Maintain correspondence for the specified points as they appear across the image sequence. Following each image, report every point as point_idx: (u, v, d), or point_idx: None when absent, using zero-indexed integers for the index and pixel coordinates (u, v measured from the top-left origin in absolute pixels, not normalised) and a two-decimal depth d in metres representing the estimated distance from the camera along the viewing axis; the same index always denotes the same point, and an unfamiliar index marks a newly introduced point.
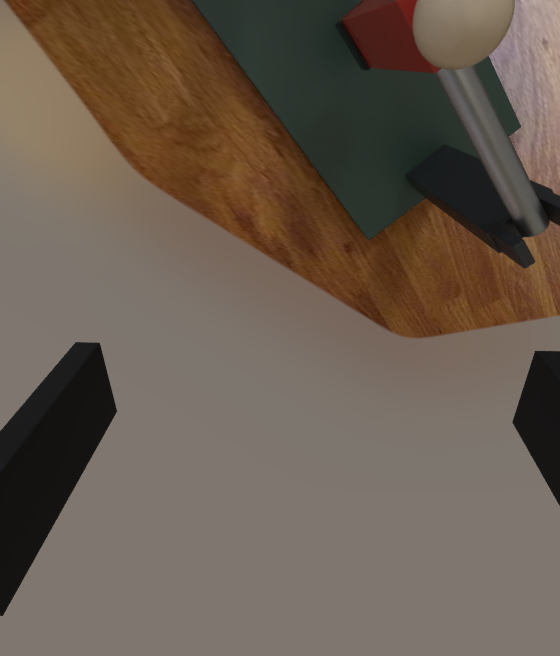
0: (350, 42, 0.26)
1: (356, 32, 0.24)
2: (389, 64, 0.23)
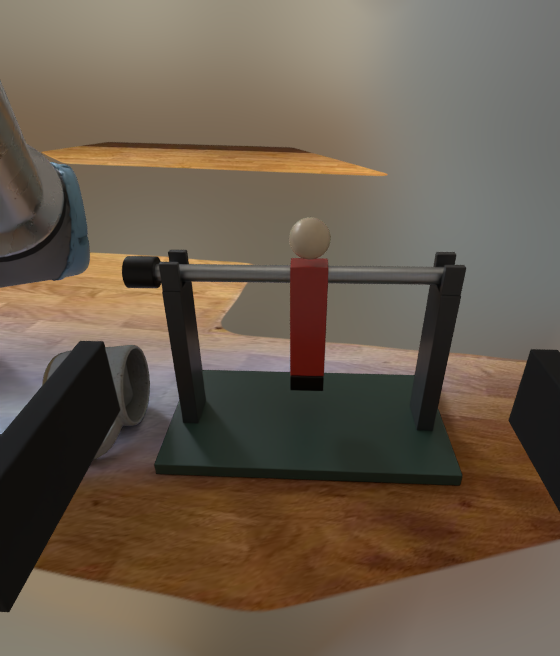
0: (303, 378, 0.40)
1: (299, 359, 0.40)
2: (321, 332, 0.38)
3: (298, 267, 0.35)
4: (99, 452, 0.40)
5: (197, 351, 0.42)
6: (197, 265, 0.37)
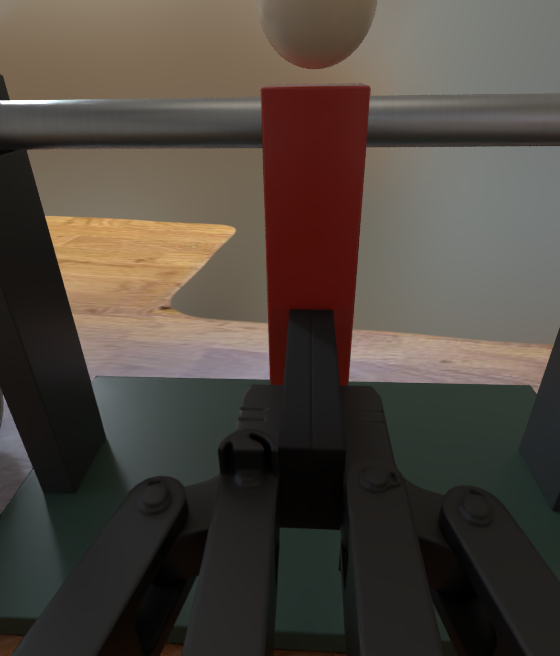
0: None
1: None
2: (345, 283, 0.15)
3: (284, 88, 0.12)
4: None
5: (66, 337, 0.19)
6: (15, 101, 0.14)
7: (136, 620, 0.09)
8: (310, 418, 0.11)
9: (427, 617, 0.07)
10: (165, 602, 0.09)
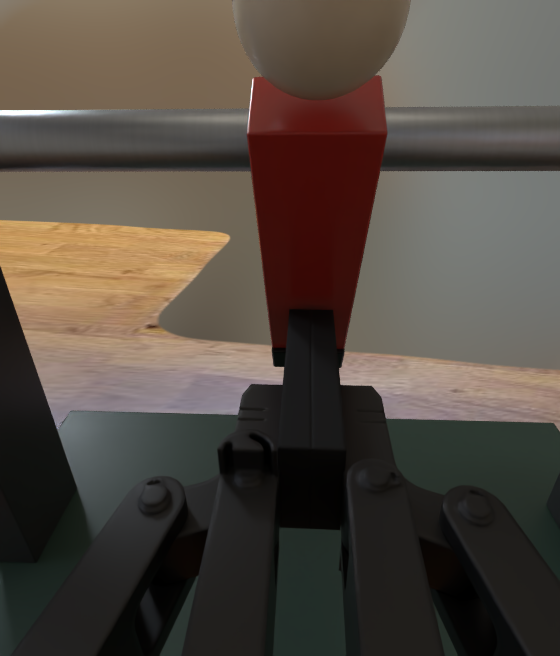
0: None
1: None
2: (346, 287, 0.15)
3: (276, 132, 0.10)
4: None
5: (24, 385, 0.16)
6: None
7: (136, 620, 0.09)
8: (310, 418, 0.11)
9: (427, 617, 0.07)
10: (165, 602, 0.09)
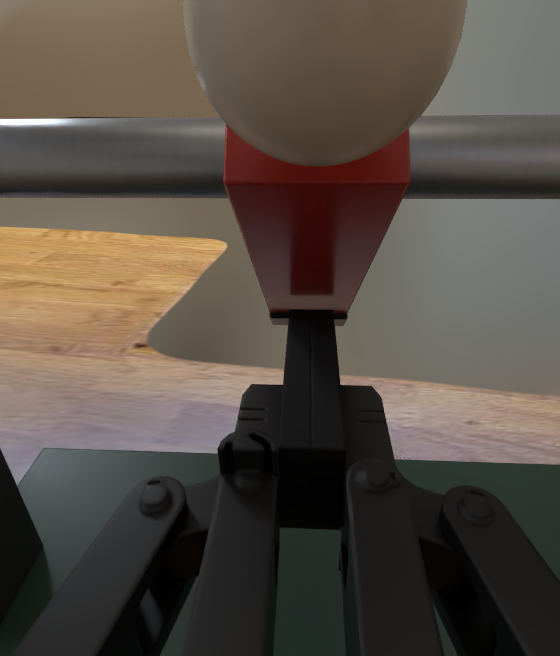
0: None
1: (288, 303, 0.16)
2: (351, 282, 0.13)
3: (262, 179, 0.07)
4: None
5: None
6: None
7: (136, 620, 0.09)
8: (310, 418, 0.11)
9: (427, 617, 0.07)
10: (165, 602, 0.09)
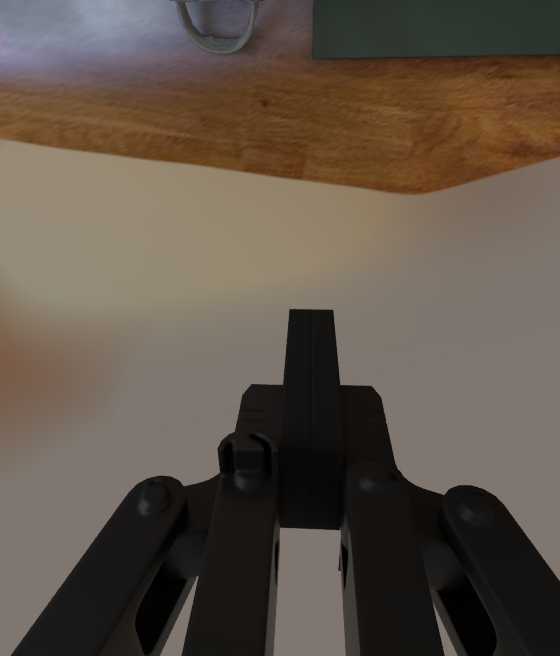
0: None
1: None
2: None
3: None
4: None
5: None
6: None
7: (136, 620, 0.09)
8: (310, 418, 0.11)
9: (427, 617, 0.07)
10: (165, 602, 0.09)
